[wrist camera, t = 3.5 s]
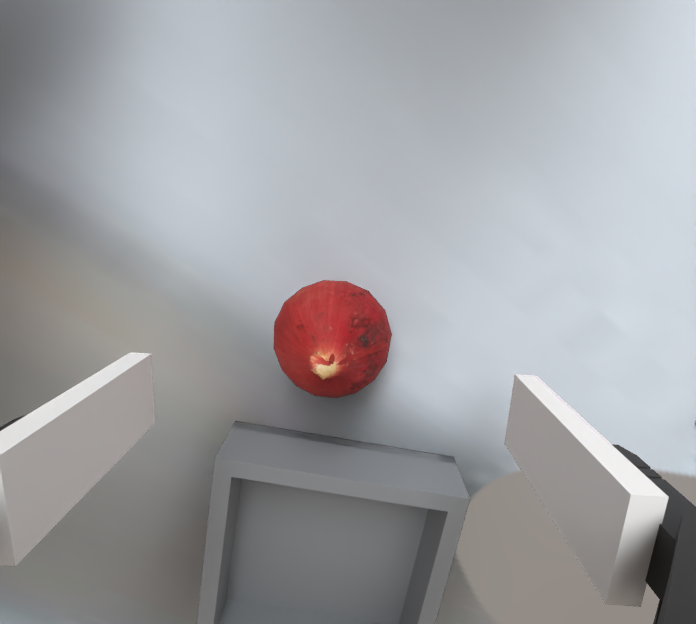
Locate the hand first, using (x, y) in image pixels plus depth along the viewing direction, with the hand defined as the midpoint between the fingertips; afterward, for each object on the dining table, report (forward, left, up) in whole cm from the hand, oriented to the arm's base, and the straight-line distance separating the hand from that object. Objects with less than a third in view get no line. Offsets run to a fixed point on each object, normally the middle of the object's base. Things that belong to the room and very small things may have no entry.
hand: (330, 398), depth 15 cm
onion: (0, 0, -10) cm, 10 cm away
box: (+13, +7, -10) cm, 18 cm away
